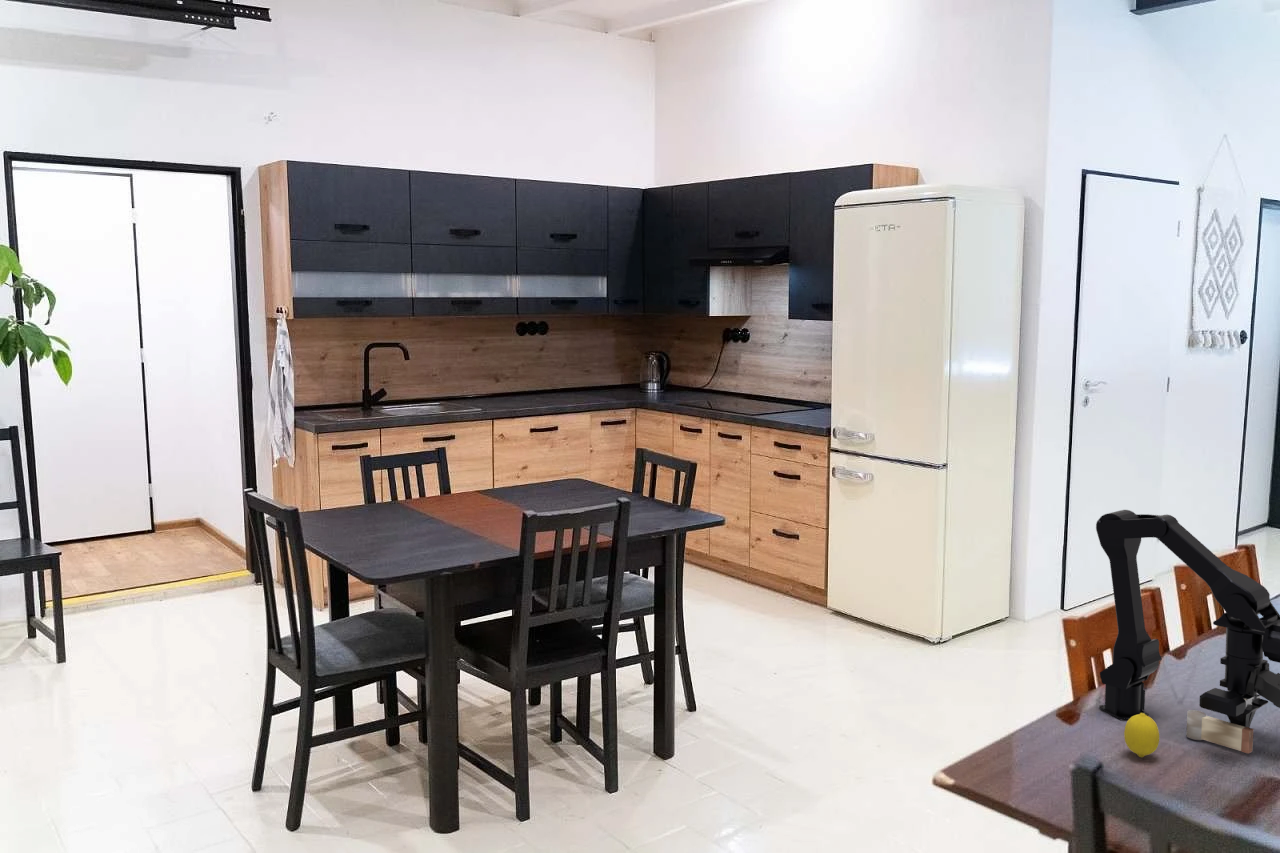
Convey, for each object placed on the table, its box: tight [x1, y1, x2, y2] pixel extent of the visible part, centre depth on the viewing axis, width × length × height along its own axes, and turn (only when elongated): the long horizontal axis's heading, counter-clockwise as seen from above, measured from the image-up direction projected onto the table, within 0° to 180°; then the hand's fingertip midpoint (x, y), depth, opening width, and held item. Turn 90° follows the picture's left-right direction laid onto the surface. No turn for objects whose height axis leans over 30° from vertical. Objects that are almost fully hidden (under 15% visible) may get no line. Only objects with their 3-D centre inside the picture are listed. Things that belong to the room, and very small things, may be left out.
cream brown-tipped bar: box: [1186, 709, 1254, 754], centre depth 185 cm, size 11×3×4 cm, turn 37°
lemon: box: [1123, 713, 1160, 758], centre depth 180 cm, size 6×6×8 cm
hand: (1241, 738), depth 184 cm, fingers closed
